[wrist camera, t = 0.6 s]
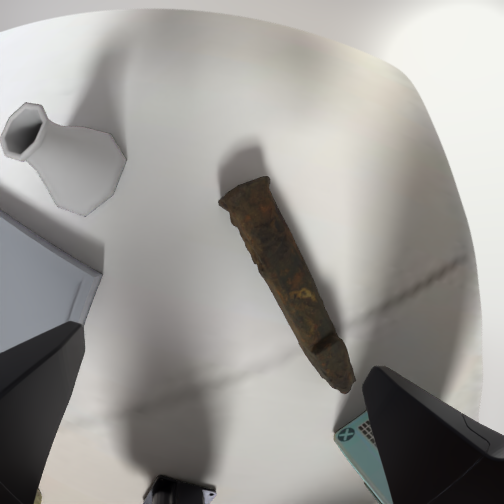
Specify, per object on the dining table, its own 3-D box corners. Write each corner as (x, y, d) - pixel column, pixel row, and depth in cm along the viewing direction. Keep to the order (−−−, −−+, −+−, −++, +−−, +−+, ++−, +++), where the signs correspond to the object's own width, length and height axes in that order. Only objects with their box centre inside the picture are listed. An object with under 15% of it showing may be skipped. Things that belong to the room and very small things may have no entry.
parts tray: (59, 412, 20) (52, 422, 18) (-44, 331, 17) (-54, 336, 15) (102, 274, 21) (94, 277, 19) (-15, 198, 18) (-27, 196, 16)
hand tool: (213, 200, 22) (217, 190, 18) (260, 180, 23) (274, 166, 18) (305, 394, 25) (325, 419, 20) (342, 372, 25) (366, 394, 21)
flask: (142, 158, 21) (108, 102, 11) (88, 233, 20) (20, 228, 10) (84, 114, 20) (35, 54, 10) (34, 183, 19) (-39, 157, 9)
